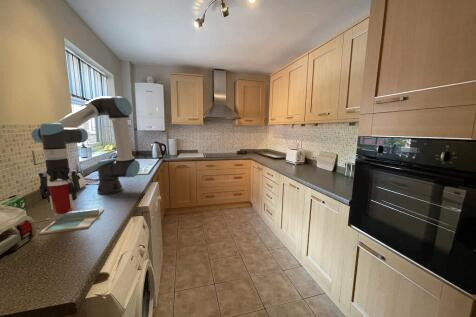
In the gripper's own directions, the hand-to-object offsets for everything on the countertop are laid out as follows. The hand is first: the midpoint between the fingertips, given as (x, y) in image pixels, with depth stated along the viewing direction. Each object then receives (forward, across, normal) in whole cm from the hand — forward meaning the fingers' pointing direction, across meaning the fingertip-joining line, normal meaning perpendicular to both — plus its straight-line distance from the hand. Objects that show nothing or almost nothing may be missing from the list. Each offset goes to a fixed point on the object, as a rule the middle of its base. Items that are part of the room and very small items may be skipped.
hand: (63, 207), depth 92 cm
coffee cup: (+2, 0, 0) cm, 2 cm away
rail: (+8, +2, +6) cm, 10 cm away
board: (+9, +2, +4) cm, 10 cm away
